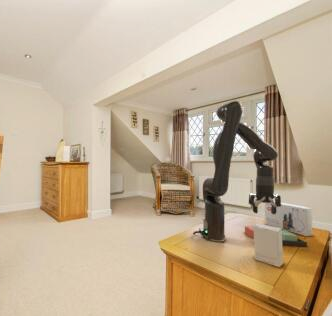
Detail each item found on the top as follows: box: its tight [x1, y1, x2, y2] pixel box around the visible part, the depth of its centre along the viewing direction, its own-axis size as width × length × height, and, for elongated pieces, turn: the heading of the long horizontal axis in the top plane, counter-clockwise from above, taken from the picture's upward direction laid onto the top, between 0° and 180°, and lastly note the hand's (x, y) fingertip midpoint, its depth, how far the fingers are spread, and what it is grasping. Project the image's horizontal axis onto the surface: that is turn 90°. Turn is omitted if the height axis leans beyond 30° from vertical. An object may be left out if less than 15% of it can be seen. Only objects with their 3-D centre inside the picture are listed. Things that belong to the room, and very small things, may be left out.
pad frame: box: [282, 237, 308, 248], centre depth 106 cm, size 12×19×2 cm, turn 170°
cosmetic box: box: [252, 223, 284, 268], centre depth 82 cm, size 8×6×15 cm
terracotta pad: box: [244, 225, 254, 239], centre depth 110 cm, size 6×8×4 cm
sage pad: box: [281, 229, 298, 241], centre depth 102 cm, size 6×8×4 cm
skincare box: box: [264, 200, 313, 237], centre depth 119 cm, size 21×5×16 cm, turn 17°
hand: (264, 213), depth 107 cm, fingers open, 8 cm apart
